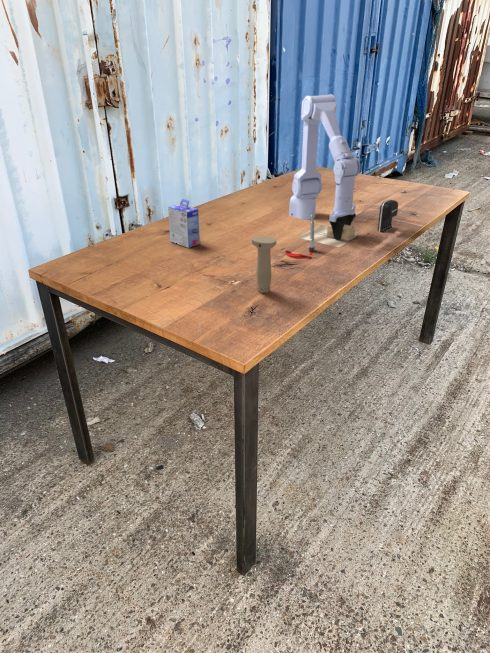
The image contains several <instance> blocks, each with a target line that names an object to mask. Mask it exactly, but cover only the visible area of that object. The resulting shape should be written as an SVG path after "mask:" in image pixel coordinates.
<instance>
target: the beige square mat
mask: <svg viewBox="0 0 490 653" xmlns="http://www.w3.org/2000/svg"><path fill="white" fill-rule="evenodd" d="M327 228H328V225H323V224H319V225H317V226H314V239H315V243H319V244H323V245H328V246H330V247H331V246H332V247H336V248H340V247H342V246H343V245H345V244H346V243H348V242H345V241H341V240H336V239H332V238H328V237H327ZM359 235H361V232H356V231H355V237H354V238H356V237H357V236H359ZM296 238H297V239H300V240H301V239H302V240H305V241H309V242H310V230H308V231H306V232H304V233H302V234H300V235H299V236H297V237H296Z"/></svg>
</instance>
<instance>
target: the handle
mask: <svg viewBox="0 0 490 653" xmlns="http://www.w3.org/2000/svg"><path fill="white" fill-rule="evenodd" d="M251 244H252V245H253V246H255V247H256V249H257V258H256V259H257V262H256V283H257V291H258V292H259V293H261V294H268V293H269V292H270V290H271V282H272V262H271V260H272V258H271V249H272V248H274V247H275V246H276V245H277V239H276V238H275V237H272V236H266V235H255V236H254V237H252V238H251Z"/></svg>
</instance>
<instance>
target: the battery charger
mask: <svg viewBox="0 0 490 653" xmlns="http://www.w3.org/2000/svg"><path fill="white" fill-rule="evenodd" d="M398 210H399V202H398V201H397V200H394V199H387V200H384V201H383V202H382V203H381V204H380V207H379V213H378V221H377V222H378V223H377V224H378V226H377V232H379V233H382V234H384V233H386V232H388V231H390V230H391V229H393V226H392V224H393V222H392V221H393V218H394V217H395V216H398Z"/></svg>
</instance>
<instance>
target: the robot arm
mask: <svg viewBox="0 0 490 653" xmlns="http://www.w3.org/2000/svg"><path fill="white" fill-rule="evenodd" d="M337 105H338V104H337V100H336V97H335V96H334V94H331V93H329V94H321V95H306V96H305V97H304V98H303V100H302V101H301V114H300V115H301V119H300V120H301V121H303V130H302V131H303V132H302V151H301V169H300V170H298V171H297V172H296V173H294V175H293V181H292V184H291V189H292V190H291V191H292V193H293V195H292V196H291V197H290V200H289V205H288V206H289V210H288V215H289V217H292V218H295V219H299V220H308V221H309V220H311V215H313V216H314V219H315V218H316V211H317V210H316V209H317V208H316V207H317V197H319V194H320V193H321V192H322V189H323V183H322V174H321V173H320V172H319V171H318V170H317V156H318V154H317V153H318V137H319V125H320V123H322V125H323V128H324V130H325V132H326V135H327V137H328V138H329V143H328V148H329V151H330V153H331V154H330V155H331V156H332V159H333V162H334V165H333V173H334V182H335V183H336V184H335V191H334V192H335V194H334V207H333V210H332V212H331V214H330V215H329V218H328V222H329V225H330V224H331V227H332V230H333V236H334V239H338V240H340V239H341V235H342V230H343V227H344V225H350V226H352V223H353V221H354V219H355V218H356V216H357V213H356V204H353V202H354V194H355V193H354V191H355V181H356V176H358V175H359V174H360V169H361V167H360V162H359V159H358V158H357V156H355V155H354V154H352V152H351V150H350V146H349V143H348V141H347V138H346V137H344V136H342V134H341V130H340V128H339V124H338V120H337V119H338V118H337V116H336V112H337V108H338V106H337Z"/></svg>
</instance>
